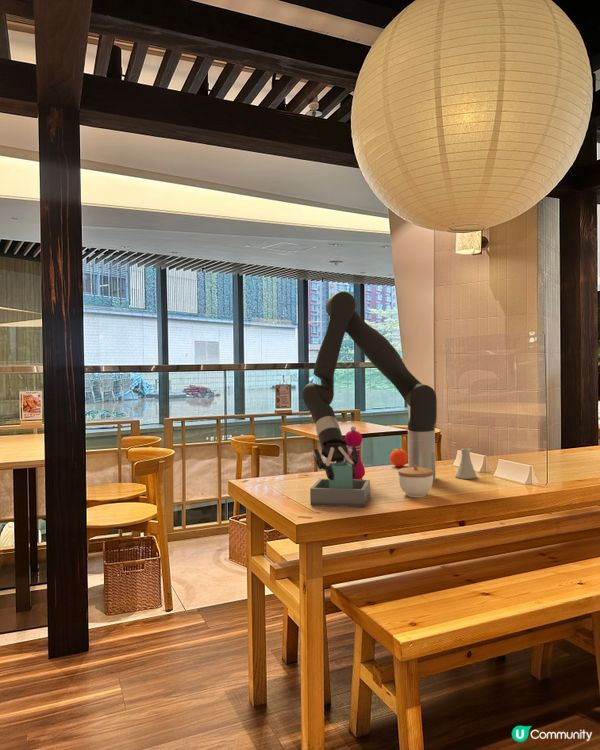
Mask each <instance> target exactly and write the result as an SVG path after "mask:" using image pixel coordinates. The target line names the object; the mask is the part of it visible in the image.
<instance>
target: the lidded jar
mask: <svg viewBox="0 0 600 750" xmlns="http://www.w3.org/2000/svg"><path fill="white" fill-rule="evenodd" d="M397 473H398V482H399V486H400V489H401V491H402V492H403V493H405V495H406V496H407V497H409V498H410V497H411V498H424V497H426V496H427V494H428V493H430V491H431V489H432V487H433V482H434V481H433V470H431V469H428V468H422V467H417V465H414V467H401V468H399V469H398V471H397Z"/></svg>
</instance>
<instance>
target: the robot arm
mask: <svg viewBox="0 0 600 750" xmlns="http://www.w3.org/2000/svg"><path fill="white" fill-rule="evenodd" d="M356 308H357V303H356V299H355V297H354V295H353V294H351V293H350V292H348V291H338V292H336V293H334V294H333V295H331V296H330V297H329V298H328V299H327V300H326V304H325V311H326V313H327V315H328V317H329V319H328V324H327V329H326V332H325V335H324V337H323V340H322V343H321V345H320V347H319V350H318V353H317V357H316V361H315V364H314V368H313V375H314V376H315V377H316V378H318V379H319V380H320V384H317V383H314V382H311V383H310V382H309V383H308V384H306V385H305V386H304V387H303V390H302V395H301V396H302V401H303V403H304V404H305V406H306V407H307V410H308V411H309V413H310V414H311V415H312V417H313V420H314V421H313V422H314V425H315V429H316V436H317V438H318V441H319V444H320V445H319V446H320V449H318V448H315V449H314V450H313V454H312V456H313V459H314V461H315V463H316V466H317V468H318V469H319V470H324V471H325V474H326V479H330V480H333V477H334V476H333V472H332V469H331V466H330V463H336V462H340V463H343V462H346V463H348V464H350V465H352V478H354V477H355V474H356V472H355V469H354V467H356V466H357V463H358V456H357V450H356V447H352V448H347V447H346V446H347V445H346V444H345V443H346V442H345V439H344V437H343V433H342V431H341V427H340V424H339V422H338V420H337V418H336V414H335V411H334V408H333V406H331V404H332V402H333V401H334V395H335V393H334V391H335V378H334V377H335V371H336V368H337V364H338V360H339V356H340V351H341V348H342V345H343V342H344V341H343V340H344V337H345V334H347V335H348V336H349V337H350V339H352V341H353V342H354V344H355V345H356V346H357V347H358V349H359V350H360V351H361V352H362V353H363V354H364V356H365V357H366V358H367V359H368V361H370V363H371V364H372V365H373V366H374V367H375V368H376V369H377V370H378V371H379V372H380V373H381V374H382V375H383V376H384V378H386V379H387V380H388V381H389V382H390V383H391V384H392V385H393V386H394V387H395V389H396V390H397V392H398V393H399V394H400V395H401V396H402V399H403V400H404V401H405V402H406V405H408V406H409V419H408V422H407V455H408V461H407V463H408V465H407V466H408V467H414V465H417V467H422V468H428V469H431V470H433V482H435V481H436V479H437V478H436V477H437V475H436V474H437V473H436V472H437V471H436V468H437V466H436V435H435V434H436V422H437V403H438V402H437V395H436V394H437V393H436V392H435V390H434V388H433V387H431V386H430V385H428V384H423V383H422V382H420V381H419V380H418V379H417V378H416V376H414V375H413V374H412V372H410V370H409V369H408V368H407V367H406V363H404V361H403V359H402V357H401V356H400V354H399V352H398V350H397V349H396V348H395V347H394V345H393V344H392V343H391V342H390V341H389V340H388V339H387V338H386V337H385V336H384V335H383V334H382V333H380V332H379V331H378V330H377V329H375V328H373V326H372V325H371V326H370V325H369V324H368V323H367V322H366V321H364V320H363V319H362V317H361V316H360V315H359V314H358V312H357V310H356ZM348 453H349V454H350V456H351V457H352V460H351V459H350V458H349V456H348ZM322 456H323V457H325V458H326V462H324V460H323V458H322ZM408 467H407V468H408Z"/></svg>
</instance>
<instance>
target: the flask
mask: <svg viewBox="0 0 600 750" xmlns="http://www.w3.org/2000/svg"><path fill="white" fill-rule="evenodd" d="M470 451H471V449H470V448H461V450H460V452H461V459H460V462H459V466H458V468H457V472H456V474H455V478H456V479H457V478H458V479H462V480H472V479H473V480H474V479H476V478H477V473H476V470H475V469H474V466H473V463H472V459H471V456H470V455H471V453H470Z"/></svg>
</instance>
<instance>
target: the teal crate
mask: <svg viewBox="0 0 600 750" xmlns="http://www.w3.org/2000/svg"><path fill="white" fill-rule="evenodd" d="M330 466H331V469H332V472H333V476H334V477H333V480H330V479H329V488H333V489H353V481H352V465H350V464H348V463H346V462H343V463H342V462H330Z"/></svg>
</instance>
